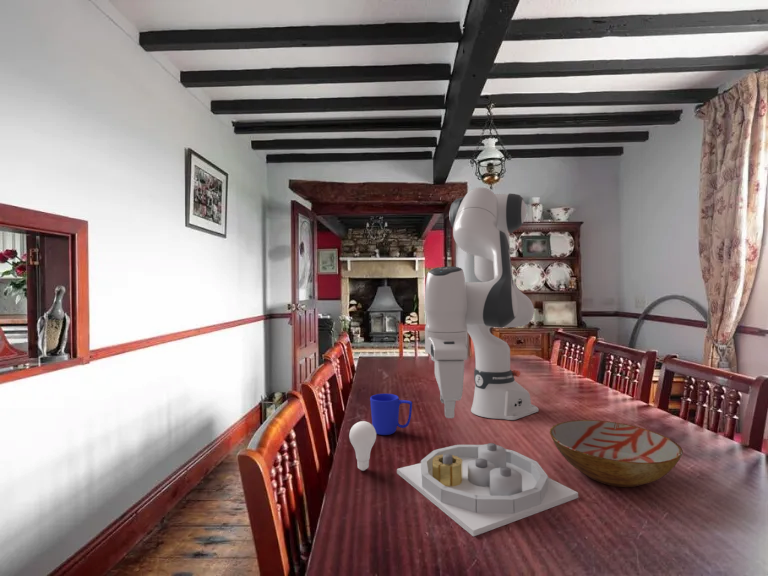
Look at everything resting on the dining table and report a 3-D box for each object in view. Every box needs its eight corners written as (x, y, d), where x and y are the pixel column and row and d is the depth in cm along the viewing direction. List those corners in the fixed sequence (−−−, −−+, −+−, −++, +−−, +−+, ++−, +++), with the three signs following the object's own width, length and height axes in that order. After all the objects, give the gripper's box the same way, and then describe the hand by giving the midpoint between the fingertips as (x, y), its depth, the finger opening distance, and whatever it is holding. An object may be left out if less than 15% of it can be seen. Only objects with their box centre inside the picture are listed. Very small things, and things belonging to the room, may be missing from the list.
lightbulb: (349, 465, 95) (349, 418, 95) (375, 463, 95) (375, 417, 95) (349, 477, 89) (349, 427, 89) (377, 475, 89) (377, 425, 89)
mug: (410, 439, 110) (410, 402, 110) (367, 436, 113) (367, 400, 113) (414, 428, 119) (413, 394, 119) (374, 426, 121) (373, 392, 121)
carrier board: (487, 450, 102) (486, 426, 102) (578, 497, 79) (577, 467, 79) (397, 473, 90) (396, 446, 90) (473, 536, 67) (472, 500, 67)
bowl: (690, 520, 71) (689, 474, 71) (539, 484, 85) (539, 446, 85) (677, 466, 93) (677, 431, 93) (559, 444, 106) (559, 413, 106)
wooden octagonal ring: (450, 470, 89) (450, 452, 89) (468, 482, 84) (467, 462, 84) (427, 476, 86) (427, 458, 86) (444, 489, 81) (444, 469, 81)
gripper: (428, 337, 96) (428, 395, 96) (434, 352, 75) (435, 426, 75) (455, 336, 95) (455, 395, 95) (468, 352, 75) (469, 426, 75)
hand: (446, 409), depth 85 cm, fingers open, 8 cm apart
